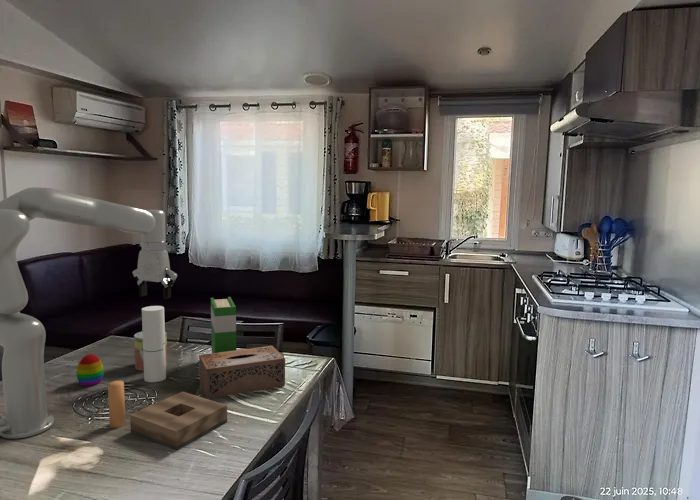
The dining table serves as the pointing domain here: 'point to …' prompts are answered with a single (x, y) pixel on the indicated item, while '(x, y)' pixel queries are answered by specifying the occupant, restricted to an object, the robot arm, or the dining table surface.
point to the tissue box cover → (241, 371)
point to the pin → (116, 404)
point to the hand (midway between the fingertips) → (155, 297)
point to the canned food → (139, 350)
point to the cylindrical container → (154, 343)
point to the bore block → (178, 419)
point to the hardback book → (223, 325)
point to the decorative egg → (90, 370)
